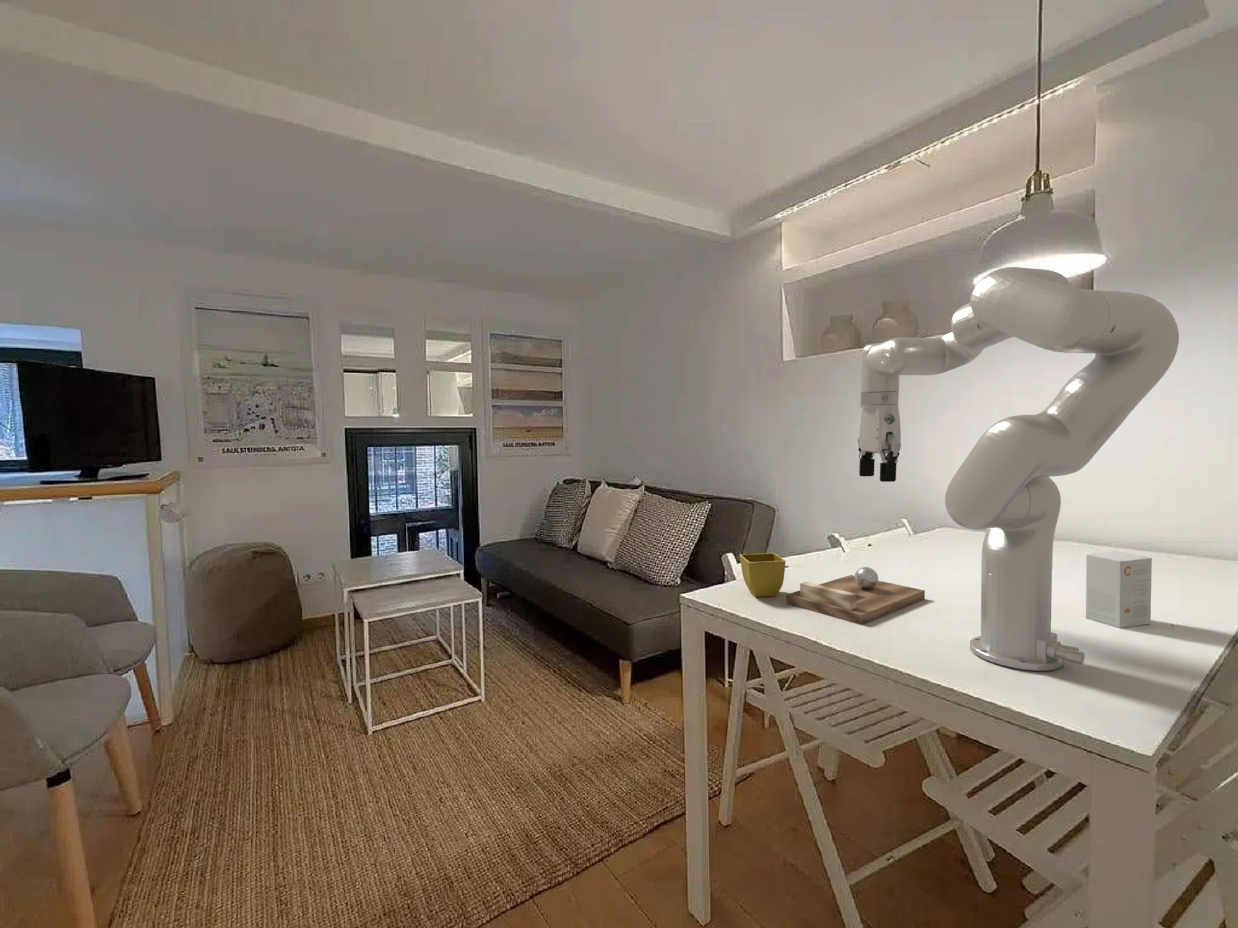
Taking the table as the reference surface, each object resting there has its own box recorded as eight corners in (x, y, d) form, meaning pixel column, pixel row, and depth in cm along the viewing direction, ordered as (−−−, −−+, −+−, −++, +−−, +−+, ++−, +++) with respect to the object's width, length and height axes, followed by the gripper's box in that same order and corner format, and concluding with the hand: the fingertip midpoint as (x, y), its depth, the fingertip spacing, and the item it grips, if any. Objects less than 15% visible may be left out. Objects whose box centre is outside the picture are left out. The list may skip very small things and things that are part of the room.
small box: (1114, 613, 110) (1115, 550, 109) (1151, 624, 103) (1153, 557, 103) (1084, 618, 108) (1085, 553, 107) (1120, 628, 102) (1122, 560, 101)
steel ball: (882, 589, 124) (882, 567, 124) (870, 593, 121) (870, 571, 121) (862, 584, 128) (862, 563, 128) (850, 588, 125) (850, 567, 125)
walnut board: (924, 598, 122) (924, 577, 122) (861, 624, 107) (861, 599, 107) (850, 582, 137) (850, 563, 137) (786, 603, 122) (786, 581, 121)
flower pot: (749, 600, 125) (748, 562, 124) (739, 589, 133) (739, 553, 133) (786, 599, 125) (786, 560, 124) (774, 588, 134) (774, 552, 133)
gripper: (918, 399, 109) (915, 483, 111) (877, 401, 126) (875, 474, 128) (881, 400, 109) (878, 484, 111) (845, 402, 126) (843, 474, 128)
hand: (876, 478), depth 119 cm, fingers open, 9 cm apart
